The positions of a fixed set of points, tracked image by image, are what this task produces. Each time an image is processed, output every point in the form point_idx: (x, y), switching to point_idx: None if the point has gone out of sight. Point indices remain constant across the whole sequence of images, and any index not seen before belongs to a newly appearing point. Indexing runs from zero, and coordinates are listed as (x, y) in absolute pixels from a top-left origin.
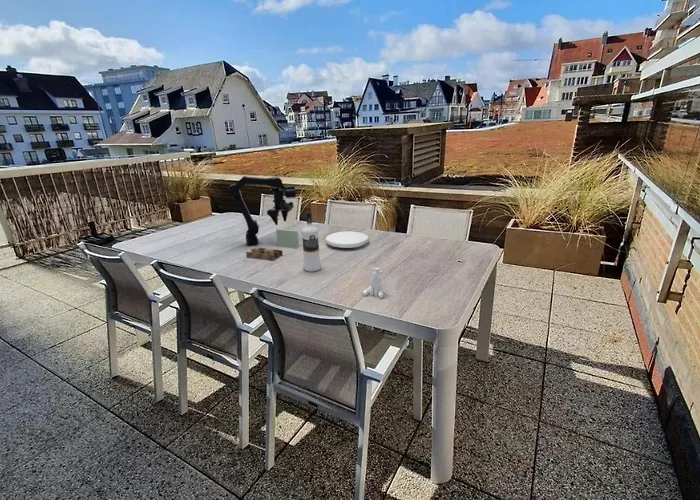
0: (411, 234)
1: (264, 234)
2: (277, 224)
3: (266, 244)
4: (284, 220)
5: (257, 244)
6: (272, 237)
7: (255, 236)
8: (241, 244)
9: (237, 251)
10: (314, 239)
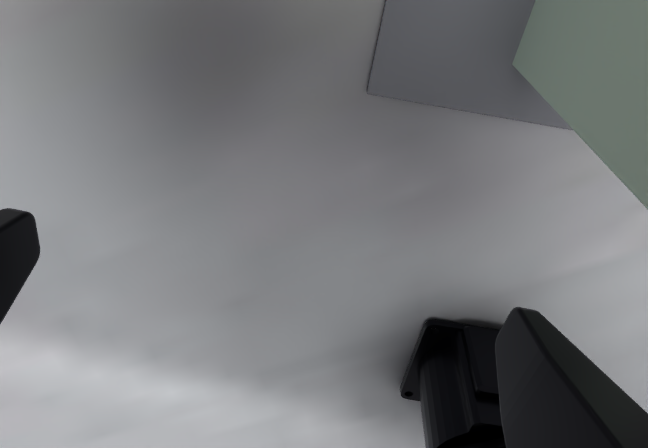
0: None
1: (97, 375)
2: (528, 316)
3: (415, 256)
4: (22, 262)
5: (487, 333)
6: (153, 280)
7: (502, 429)
8: None
9: None
10: None
